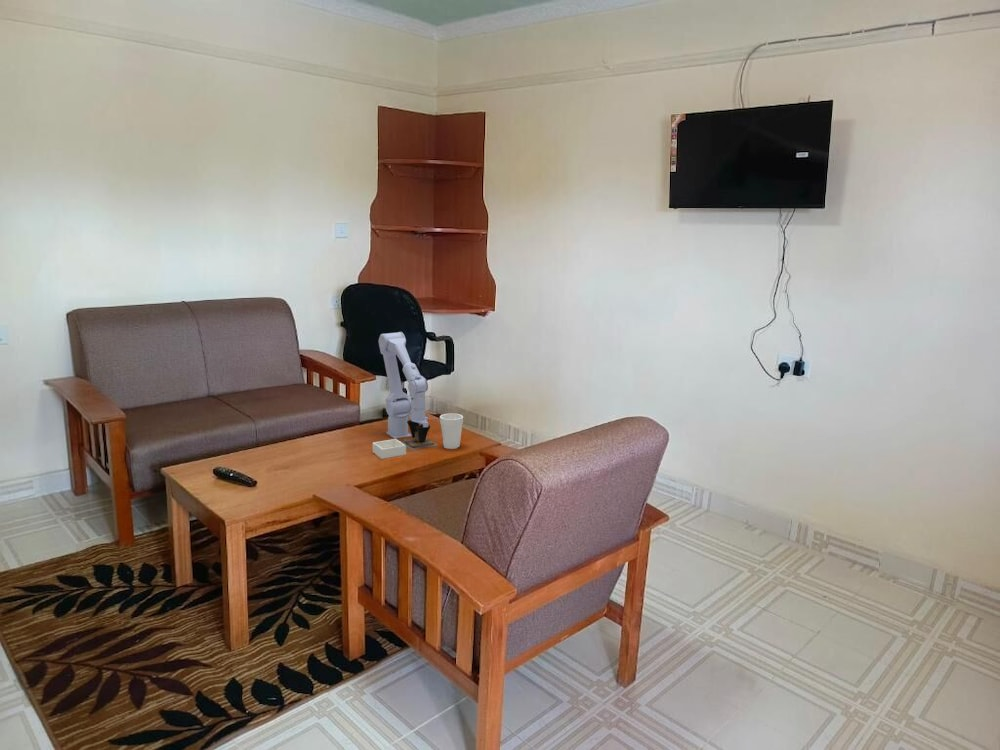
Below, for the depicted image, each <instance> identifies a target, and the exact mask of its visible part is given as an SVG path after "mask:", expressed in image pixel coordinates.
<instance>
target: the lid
mask: <svg viewBox="0 0 1000 750" xmlns="http://www.w3.org/2000/svg"><path fill="white" fill-rule="evenodd" d="M403 442H404V443H405V444H407V445H408V446H410V447H411V448H419V447H425V446H430V445H434V443H435V441H432V439H429V438H428V437H426V440H425V442H422V443H420V441H419V435H418V431H415V438H406V439H403Z"/></svg>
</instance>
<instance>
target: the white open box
mask: <svg viewBox="0 0 1000 750" xmlns="http://www.w3.org/2000/svg"><path fill="white" fill-rule="evenodd" d="M372 453H373V454H374V453H375V456H377V457H378V456H379V457H378V458H379V459H381V460H384V459H389V458H393V457H394V458H395V457H399V456H406V455H407V447H406V445H404V444H403V443H401V442H400V440H398V438H393V439H387V440H380V441H374V442H372Z"/></svg>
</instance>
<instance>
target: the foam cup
mask: <svg viewBox="0 0 1000 750" xmlns="http://www.w3.org/2000/svg"><path fill="white" fill-rule="evenodd" d="M463 423H464V415H462V414H459V413H444V414H440V415H439V424H440V429H441V436H442V437H441V438H442V442H443V443H442V444H443V448H445V449H447V450H455V449H458V447H459V448H460V444H461V438H462V430H463Z"/></svg>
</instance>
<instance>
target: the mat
mask: <svg viewBox="0 0 1000 750" xmlns="http://www.w3.org/2000/svg"><path fill="white" fill-rule="evenodd" d="M399 441H400V440H399ZM400 442H401V443H403V444H404V445H406V448H408V449H409V450H410V451H413V450H418V449H419V450H420V449H425V448H430V447H436V446H438V444H437V443H436V442H434V445H430V446H425V447H419V448H411V447H410V446H408V445H407V444H405V443H404V442H403V441H400Z"/></svg>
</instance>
